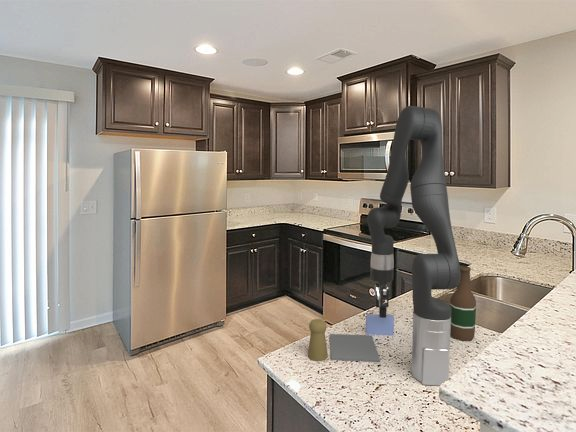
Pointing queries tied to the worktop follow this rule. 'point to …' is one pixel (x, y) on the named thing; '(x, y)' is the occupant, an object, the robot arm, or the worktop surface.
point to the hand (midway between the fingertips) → (380, 312)
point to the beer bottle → (463, 308)
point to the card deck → (379, 325)
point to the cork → (317, 341)
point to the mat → (353, 348)
